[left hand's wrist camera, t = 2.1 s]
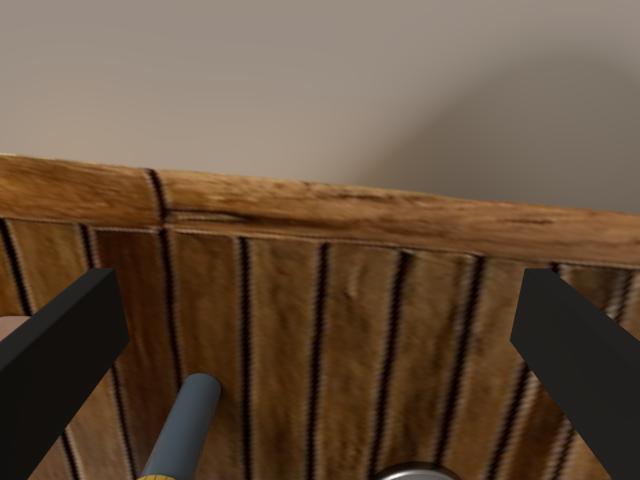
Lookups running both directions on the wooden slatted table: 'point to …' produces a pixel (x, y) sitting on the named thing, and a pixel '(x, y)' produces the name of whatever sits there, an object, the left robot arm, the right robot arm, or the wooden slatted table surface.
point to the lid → (156, 477)
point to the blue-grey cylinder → (185, 429)
